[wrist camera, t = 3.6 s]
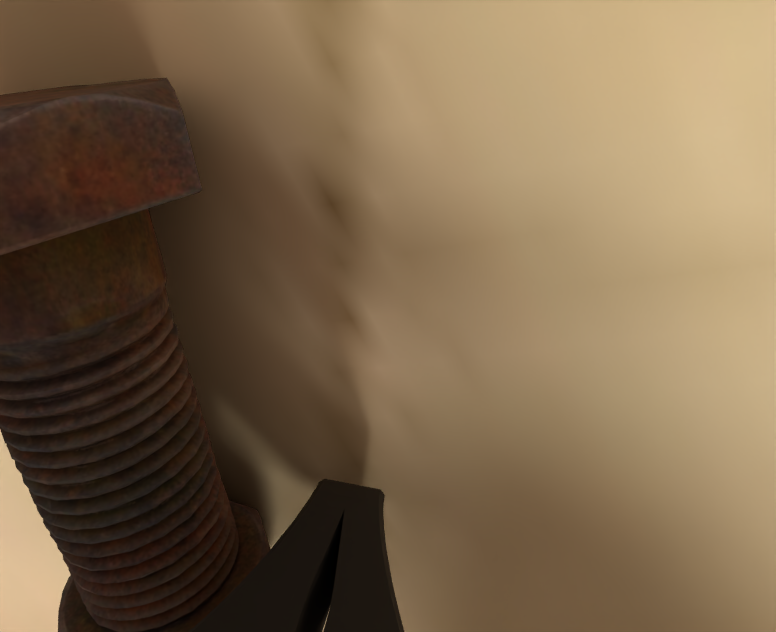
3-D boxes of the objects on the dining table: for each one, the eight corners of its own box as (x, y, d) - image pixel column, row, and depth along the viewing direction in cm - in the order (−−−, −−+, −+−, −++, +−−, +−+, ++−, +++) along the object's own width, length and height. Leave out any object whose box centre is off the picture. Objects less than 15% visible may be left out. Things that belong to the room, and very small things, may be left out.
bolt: (245, 588, 18) (89, 80, 12) (370, 675, 15) (256, 67, 9) (66, 760, 14) (-325, 137, 8) (189, 921, 11) (-268, 146, 5)
